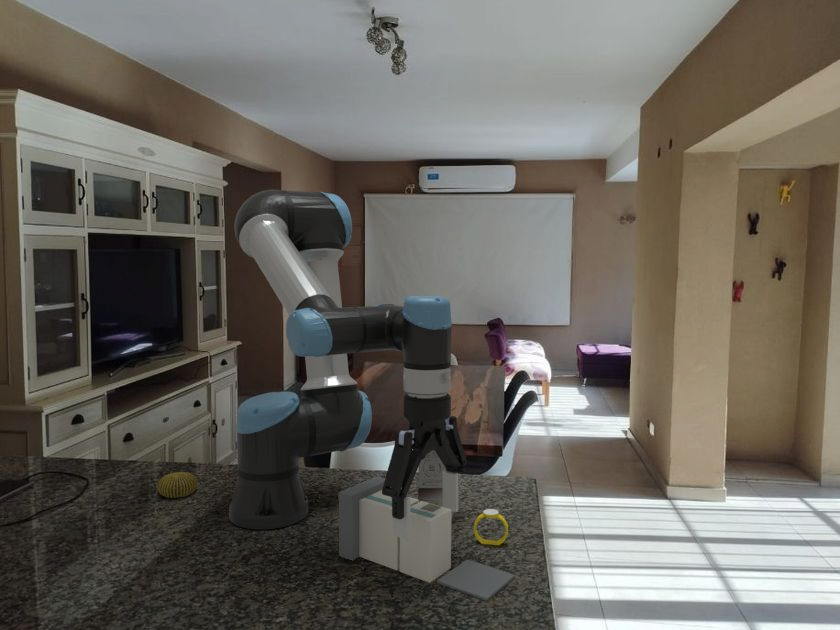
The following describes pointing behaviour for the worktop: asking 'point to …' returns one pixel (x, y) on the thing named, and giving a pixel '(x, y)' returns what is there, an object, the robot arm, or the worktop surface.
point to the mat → (476, 579)
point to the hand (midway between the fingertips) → (427, 523)
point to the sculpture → (177, 485)
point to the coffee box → (431, 480)
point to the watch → (491, 514)
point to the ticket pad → (368, 524)
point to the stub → (427, 542)
